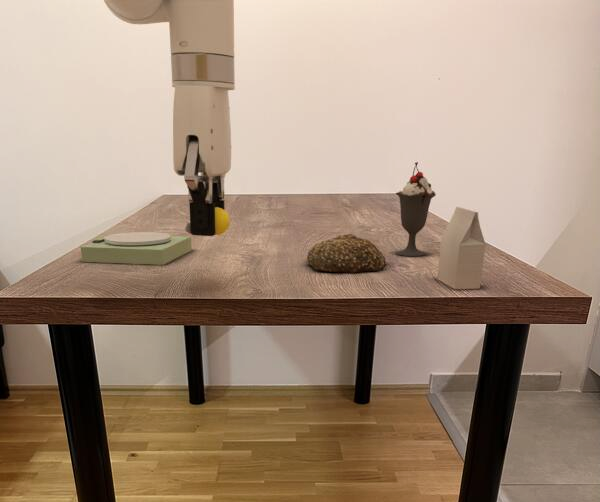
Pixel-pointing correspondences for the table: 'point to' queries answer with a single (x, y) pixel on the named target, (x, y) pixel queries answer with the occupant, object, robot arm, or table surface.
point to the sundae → (414, 209)
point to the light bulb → (217, 221)
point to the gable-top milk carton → (462, 251)
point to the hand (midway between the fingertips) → (208, 231)
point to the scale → (136, 248)
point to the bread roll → (345, 255)
